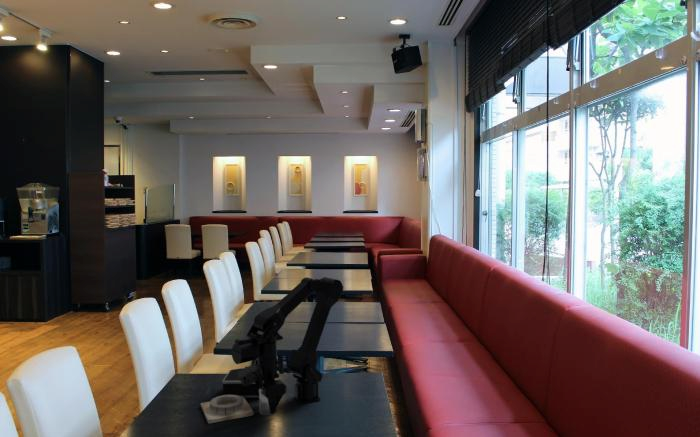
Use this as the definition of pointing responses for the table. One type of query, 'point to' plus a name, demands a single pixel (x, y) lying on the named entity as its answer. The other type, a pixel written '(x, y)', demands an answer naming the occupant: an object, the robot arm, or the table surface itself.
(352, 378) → the table surface
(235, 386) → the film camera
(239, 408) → the mount
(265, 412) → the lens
